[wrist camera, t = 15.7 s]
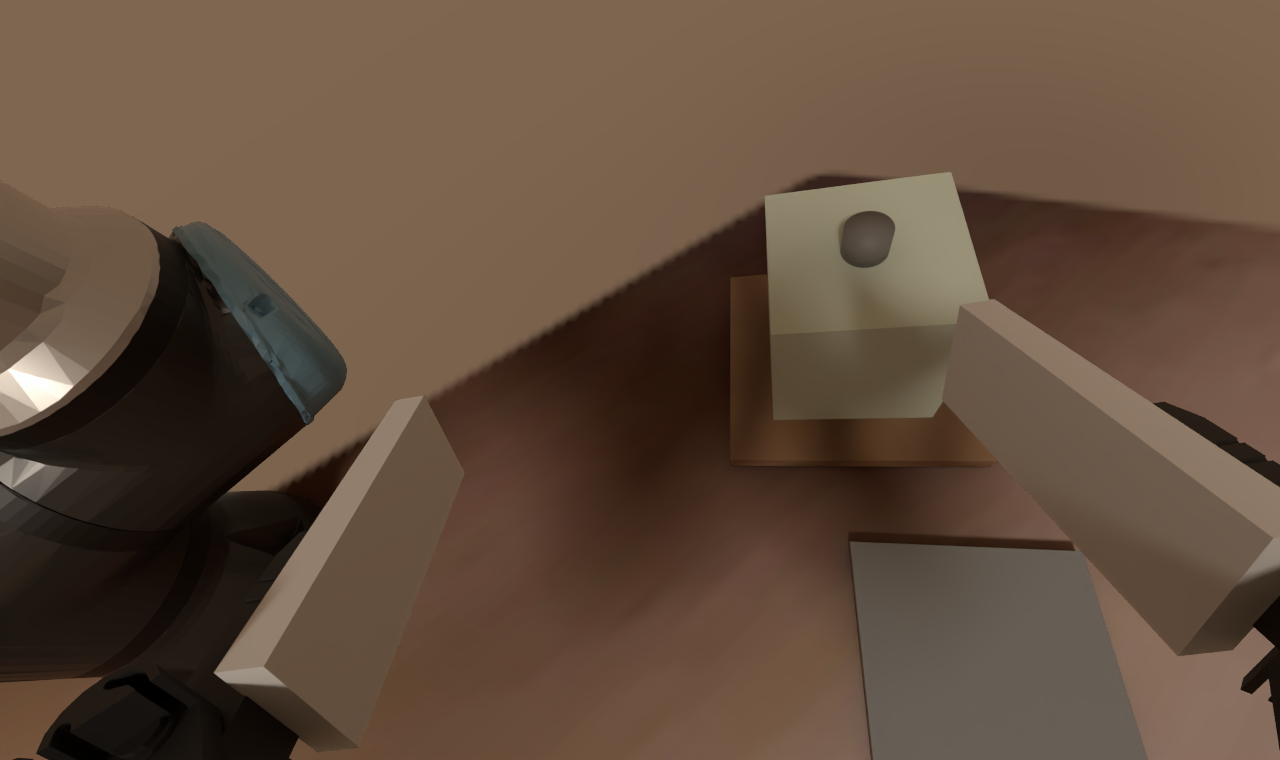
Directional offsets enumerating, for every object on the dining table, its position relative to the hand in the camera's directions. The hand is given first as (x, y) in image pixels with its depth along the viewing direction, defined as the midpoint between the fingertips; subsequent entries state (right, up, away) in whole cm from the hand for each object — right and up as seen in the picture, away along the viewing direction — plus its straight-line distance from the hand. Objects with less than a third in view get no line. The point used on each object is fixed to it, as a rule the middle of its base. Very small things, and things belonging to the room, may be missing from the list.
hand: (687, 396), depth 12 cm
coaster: (+17, -15, +14) cm, 27 cm away
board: (+14, +2, +24) cm, 28 cm away
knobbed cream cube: (+13, +2, +23) cm, 27 cm away
